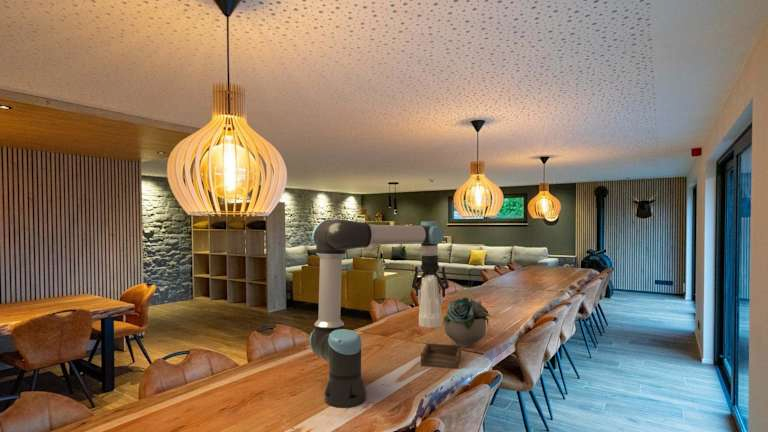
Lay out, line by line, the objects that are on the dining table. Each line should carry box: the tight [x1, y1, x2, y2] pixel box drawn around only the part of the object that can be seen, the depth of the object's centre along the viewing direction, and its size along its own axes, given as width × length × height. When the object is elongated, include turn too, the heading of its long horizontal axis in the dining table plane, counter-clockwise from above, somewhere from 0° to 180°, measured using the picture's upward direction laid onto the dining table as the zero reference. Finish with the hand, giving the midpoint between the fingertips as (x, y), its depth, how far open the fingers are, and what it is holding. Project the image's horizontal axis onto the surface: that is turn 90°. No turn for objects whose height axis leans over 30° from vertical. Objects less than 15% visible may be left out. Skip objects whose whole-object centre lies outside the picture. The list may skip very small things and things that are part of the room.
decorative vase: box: [418, 271, 443, 329], centre depth 187 cm, size 11×11×25 cm
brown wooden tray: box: [420, 343, 462, 370], centre depth 186 cm, size 17×16×5 cm
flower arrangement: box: [443, 297, 491, 348], centre depth 210 cm, size 25×25×24 cm
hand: (430, 303), depth 187 cm, fingers closed on decorative vase, 9 cm apart
